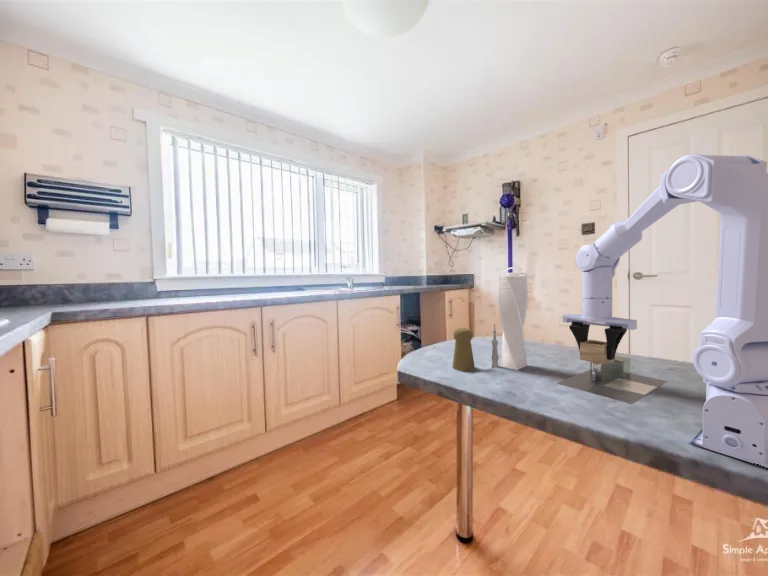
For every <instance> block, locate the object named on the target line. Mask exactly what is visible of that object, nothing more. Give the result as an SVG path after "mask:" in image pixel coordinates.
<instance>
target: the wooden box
mask: <svg viewBox="0 0 768 576" xmlns="http://www.w3.org/2000/svg"><path fill="white" fill-rule="evenodd" d="M579 360H581V361H585V362H595V363H600V364H606V363H609V362H611V361H614V359H612V360H608V359H607V341H602V340H595V339H588V340H587V341H584V342H581V343H580V351H579Z"/></svg>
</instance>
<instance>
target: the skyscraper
mask: <svg viewBox="0 0 768 576" xmlns="http://www.w3.org/2000/svg"><path fill="white" fill-rule="evenodd" d="M511 269H514V270H515V269H518V271H517V272H507V271H508V270H511ZM521 271H522V268H521V267H520V266H511V267H507V268H504V269H503V270H502V272H500V274H499V276H498V309H499V310H498V311H499V318H500V323H501V327H502V338H501V345H500V359H499V351H498V344H499V341H498V340H497V330H496V324H493V331H492V333H493V339H492V340H491V344H492V350H491V355H492V356H490V357H491V362H492V363H491V369H494V368H498V367H499V366H500V367H503V368H507V369H512V370H514V371H515V370H516V371H519V370H520V369H522V368H525V367H527V366H528V359H527V352H526V351H527V350H526V349H527V348H526V347H527V346H526V341H525V340H526V339H525V331H524V324H525V321H526V317H527V310H528V309H527V308H528V293H529V292H528V274H527V273H526V272H521ZM504 273H506V275H503V274H504ZM499 360H500V361H499Z"/></svg>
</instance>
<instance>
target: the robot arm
mask: <svg viewBox="0 0 768 576" xmlns="http://www.w3.org/2000/svg"><path fill="white" fill-rule="evenodd" d="M767 168H768V162H767V161H765V160H763V159H760V158H756V157H754V156H750V155H748V154H736V155H720V154H719V155H717V154H716V155H715V154H710V155H708V154H701V153H700V154H699V153H692V154H687V155H684V156H682V157H680V158H679V159H677V160H676V161H675V162H673V164H672V165H671V166H670V168H668V170H666V171H664V173H662V174H661V176H660V180H659V186H657V188H656V189H654V191H653V192H652V193H651V194H650V195H649V196H648V197H647V198H646V199H645V200H643V203H641V204H640V205H639V207H638V208H636V210H635V211H634V212H633V213H632V214H631V215H630V216H629V217H628V218H627V219H626V220H619V221H617V222H612V223H611V224H610V225H609V226H608V227H609V229H607V230H606V231H605V232H604V233H603V234H602V235H600V237H599V238H597V239H596V240H595V241H594V243H590V244H584V245H582V246H581V247H580V248H579V249H578V251H577V253H576V256H575V262H576V265H577V267H578V269H580V270H581V271H582V274H581V275H582V276H581V277H582V278H581V279H582V284H581V285H582V287H581V288H582V291H581V293H582V296H581V297H582V302H581V303H582V304H581V305H582V308H581V309H582V314H573V313H564V314H562V323H570V325H569V330H570V331H571V333H572V334H573V336H574V339H575V342H576V343H577V347H578V350H579V352H580V343H581V342H584V341H587V340H589V332H590V326H599V327H607V328H604V334H605V338H606V339H605V340H606V342H607V359H608V360H612V359H614V358H615V356H616V353H617V350H618V347H619V345H620V343H621V341H622V339H623V337H624V336H625V334H626V333H627V331H628V330H631V331H634V330H637V329H638V320H637V319H631V318H630V319H629V318H622V317H616V316H613V278H614V277H615V275H616V269H617V267H618V266H619V264H620V260H621V257H622V256H623V255H624V254H626V253H627V252H629V251H630V250H631V249H632V248H634V247H635V246H636V245H637V244H638V243H640V242H641V241H642V238H643V232H644V231H645V230H646V229H647V228H649V227H650V226H652V225H653V224H654V223H656V222H658V220H660V219H661V218H663V217H664V216H665V215H667V214H668V213H670V212H671V211H672V210H673V209H675V208H676V207H678V206H680V205H683V204H689V203H695V202H696V203H697V202H700V203H702V204H704V205H705V206H707V207H709V208H711V209H712V210H714V211H716V212H717V213H719V214H720V215H721V216H720V217H721V218H720V232H719V233H720V235H719V249H718V251H719V253H718V269H717V270H718V271H717V286H716V287H717V288H716V305H715V318H714V319H713V320H712V322H711V323H710V324H708V325H707V326H706V327H705V328H703V330H702V331H701V333H700V341H699V343H698V345H697V347H696V348H695V349H694V350H693V351H694V352H693V354H692V363H693V366H694V368H695V370H696V372H697V373H698V374H699V376H700V377H702V381H703V383H705V384H706V385H705V387H706V388H705V391H706V393H705V394H706V395H705V402H704V404H703V407H702V431H700V432H699V433H698V435H697V436H695V438H694V439H693V441H692V443H693V445H695V446H698V447H700V448H704V449H707V450H709V451H713V452H716V453H720V454H723V455H726V456H728V457H732V458H735V459H739V460H742V461H745V462H748V463H751V464H754V463H755V464H754V465H757V464H759V465H758V466H760V465H761V466H760V467H763V466H764V467H763V468H766V469H768V172H767V170H768V169H767Z"/></svg>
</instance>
